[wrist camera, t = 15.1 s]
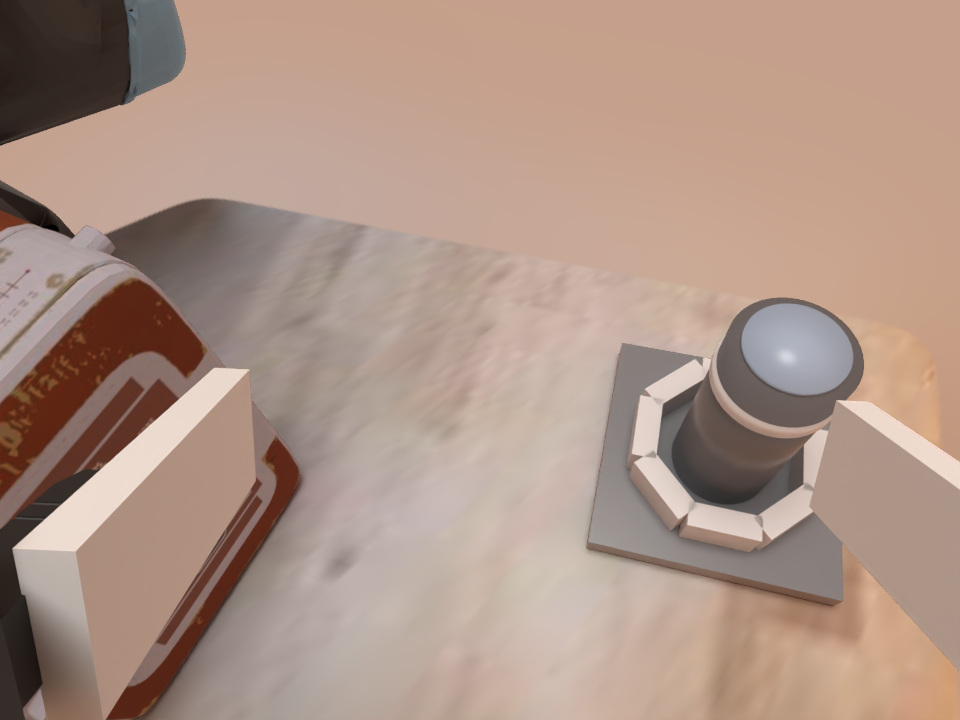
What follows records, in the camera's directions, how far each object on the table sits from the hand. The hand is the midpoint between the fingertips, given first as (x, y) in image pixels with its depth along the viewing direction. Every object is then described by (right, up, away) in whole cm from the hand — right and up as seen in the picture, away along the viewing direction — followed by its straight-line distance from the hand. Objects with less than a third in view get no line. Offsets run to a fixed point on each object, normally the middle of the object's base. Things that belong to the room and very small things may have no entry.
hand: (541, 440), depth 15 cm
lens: (+11, -3, +20) cm, 23 cm away
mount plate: (+11, -4, +21) cm, 24 cm away
